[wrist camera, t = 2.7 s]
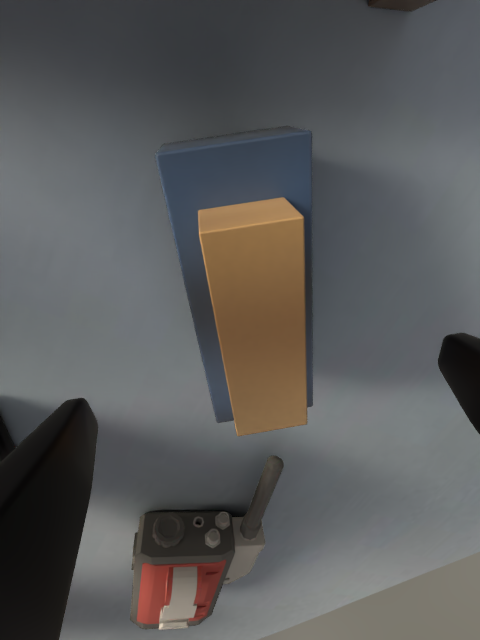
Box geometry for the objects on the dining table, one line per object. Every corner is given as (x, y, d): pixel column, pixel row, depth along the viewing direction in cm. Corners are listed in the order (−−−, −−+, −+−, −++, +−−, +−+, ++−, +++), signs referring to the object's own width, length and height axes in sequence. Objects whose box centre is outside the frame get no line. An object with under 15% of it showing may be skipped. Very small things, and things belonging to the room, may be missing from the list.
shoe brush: (289, 348, 17) (329, 448, 12) (212, 361, 17) (220, 468, 12) (278, 123, 12) (342, 135, 7) (165, 140, 12) (144, 164, 7)
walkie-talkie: (230, 584, 31) (289, 440, 21) (235, 648, 27) (309, 511, 17) (131, 589, 29) (143, 435, 19) (123, 659, 26) (132, 513, 16)
